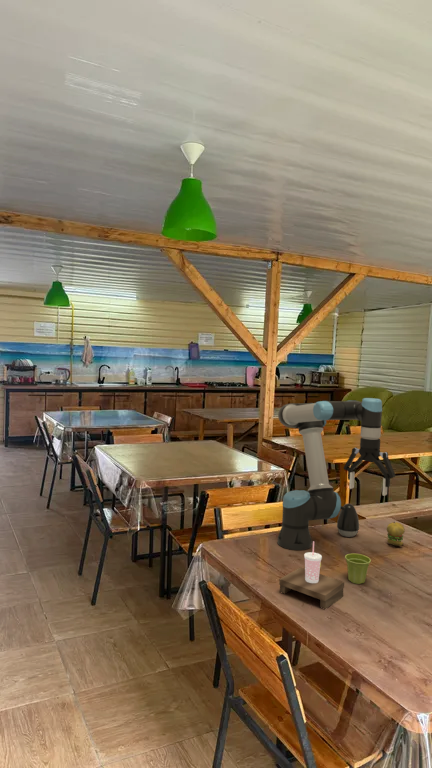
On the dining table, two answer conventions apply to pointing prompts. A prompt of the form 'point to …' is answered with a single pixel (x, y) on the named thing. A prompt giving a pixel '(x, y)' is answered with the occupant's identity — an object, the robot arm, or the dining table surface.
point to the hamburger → (395, 533)
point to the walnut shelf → (313, 587)
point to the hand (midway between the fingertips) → (367, 491)
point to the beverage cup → (312, 566)
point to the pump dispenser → (348, 521)
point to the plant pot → (357, 567)
